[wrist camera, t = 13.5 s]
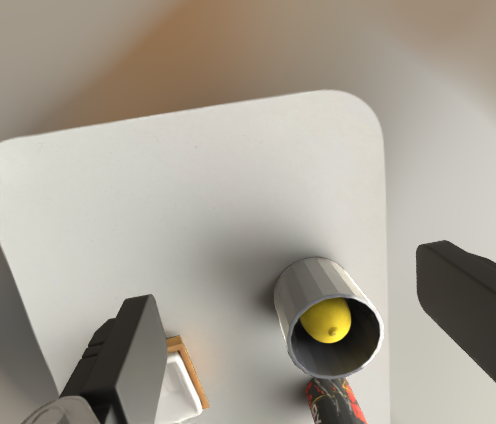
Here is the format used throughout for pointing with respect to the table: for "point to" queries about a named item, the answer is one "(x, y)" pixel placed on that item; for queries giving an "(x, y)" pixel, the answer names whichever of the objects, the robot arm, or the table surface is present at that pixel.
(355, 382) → the table surface
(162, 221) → the table surface
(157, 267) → the table surface
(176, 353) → the soap dish
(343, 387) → the deodorant
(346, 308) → the lemon
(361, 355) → the steel cup
